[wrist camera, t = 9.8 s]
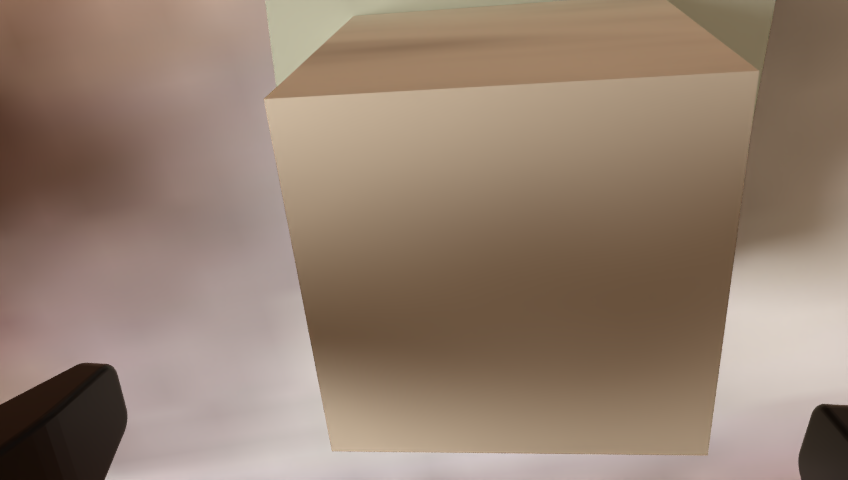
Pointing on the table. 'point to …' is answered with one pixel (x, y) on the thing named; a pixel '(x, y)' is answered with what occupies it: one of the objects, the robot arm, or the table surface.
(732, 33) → the tower top slab
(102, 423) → the robot arm
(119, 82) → the table surface
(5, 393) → the table surface
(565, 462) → the table surface
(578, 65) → the ash cube
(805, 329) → the table surface
